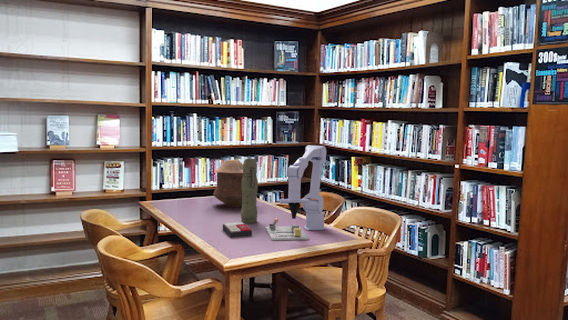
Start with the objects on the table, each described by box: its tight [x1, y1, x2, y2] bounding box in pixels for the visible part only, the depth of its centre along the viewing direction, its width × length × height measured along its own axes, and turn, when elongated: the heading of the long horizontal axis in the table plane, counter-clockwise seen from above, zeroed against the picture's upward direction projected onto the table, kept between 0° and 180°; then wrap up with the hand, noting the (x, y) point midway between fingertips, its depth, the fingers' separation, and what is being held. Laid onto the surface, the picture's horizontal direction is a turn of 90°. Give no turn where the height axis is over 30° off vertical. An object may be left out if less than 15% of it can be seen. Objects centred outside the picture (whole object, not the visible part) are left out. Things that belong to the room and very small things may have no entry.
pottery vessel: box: [212, 159, 243, 208], centre depth 296 cm, size 26×26×30 cm
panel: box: [265, 223, 309, 241], centre depth 231 cm, size 18×22×3 cm
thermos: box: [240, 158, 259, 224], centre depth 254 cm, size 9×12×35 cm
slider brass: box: [294, 227, 302, 236], centre depth 224 cm, size 3×3×3 cm
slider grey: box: [290, 224, 299, 232], centre depth 231 cm, size 3×3×3 cm
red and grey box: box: [222, 221, 253, 239], centre depth 231 cm, size 11×4×15 cm
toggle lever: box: [272, 218, 279, 226], centre depth 237 cm, size 2×3×5 cm, turn 10°
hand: (293, 218), depth 223 cm, fingers closed
